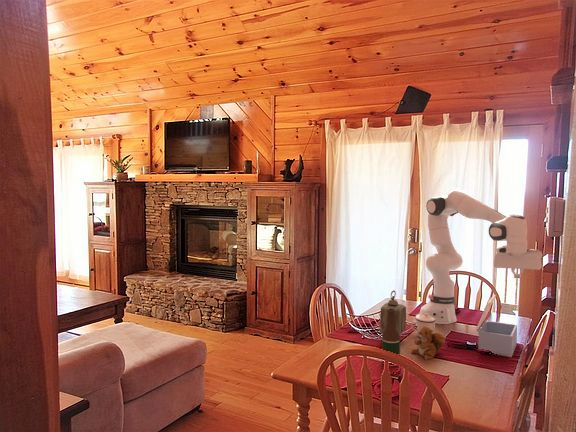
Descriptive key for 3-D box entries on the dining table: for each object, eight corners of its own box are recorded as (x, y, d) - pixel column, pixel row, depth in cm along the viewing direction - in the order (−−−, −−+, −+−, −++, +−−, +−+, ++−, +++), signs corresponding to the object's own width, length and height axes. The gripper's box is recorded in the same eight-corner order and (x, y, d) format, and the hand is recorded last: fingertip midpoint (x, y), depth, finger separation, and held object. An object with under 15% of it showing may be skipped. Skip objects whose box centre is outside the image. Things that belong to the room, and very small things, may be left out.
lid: (490, 304, 209) (487, 302, 210) (477, 331, 213) (475, 330, 213) (496, 295, 226) (494, 294, 226) (485, 321, 229) (482, 320, 230)
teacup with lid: (434, 333, 239) (435, 311, 238) (435, 339, 230) (436, 316, 229) (410, 332, 242) (411, 310, 241) (411, 337, 233) (411, 315, 232)
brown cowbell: (389, 334, 238) (389, 287, 236) (406, 337, 233) (407, 289, 232) (379, 342, 226) (380, 292, 224) (397, 345, 221) (398, 294, 219)
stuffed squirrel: (409, 352, 211) (409, 324, 211) (434, 349, 216) (434, 321, 216) (423, 360, 202) (423, 331, 201) (448, 356, 207) (449, 327, 206)
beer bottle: (396, 368, 193) (397, 312, 191) (378, 365, 197) (379, 310, 195) (402, 362, 199) (402, 308, 198) (385, 359, 204) (385, 306, 202)
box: (511, 357, 205) (512, 336, 205) (478, 351, 213) (478, 331, 212) (516, 344, 222) (517, 325, 221) (485, 339, 230) (486, 320, 229)
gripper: (542, 249, 214) (542, 278, 214) (495, 247, 225) (495, 275, 225) (541, 250, 209) (542, 280, 209) (493, 249, 220) (493, 277, 220)
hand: (517, 278), depth 217 cm, fingers closed
